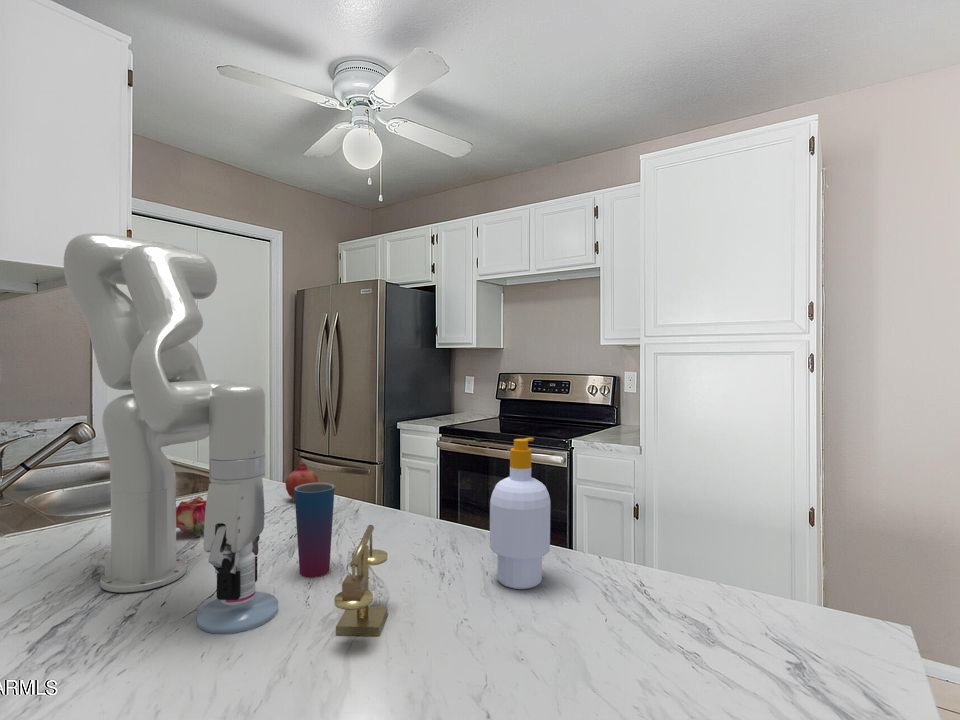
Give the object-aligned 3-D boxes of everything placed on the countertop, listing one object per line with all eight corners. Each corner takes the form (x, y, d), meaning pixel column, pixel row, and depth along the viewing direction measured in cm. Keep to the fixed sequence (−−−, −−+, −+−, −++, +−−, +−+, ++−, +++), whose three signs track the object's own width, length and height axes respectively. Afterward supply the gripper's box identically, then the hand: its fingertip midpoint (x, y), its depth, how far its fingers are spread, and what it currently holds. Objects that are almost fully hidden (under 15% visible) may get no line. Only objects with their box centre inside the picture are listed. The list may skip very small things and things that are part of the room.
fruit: (279, 504, 139) (279, 464, 139) (295, 495, 147) (295, 458, 147) (309, 506, 138) (309, 466, 138) (323, 497, 146) (323, 459, 146)
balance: (325, 652, 72) (325, 554, 72) (355, 600, 87) (355, 518, 87) (371, 654, 72) (371, 555, 72) (393, 601, 87) (393, 519, 87)
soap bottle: (561, 580, 95) (563, 440, 95) (524, 600, 88) (525, 447, 87) (515, 564, 102) (516, 433, 102) (476, 581, 95) (478, 439, 94)
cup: (323, 581, 94) (323, 493, 94) (286, 577, 95) (286, 490, 95) (341, 566, 101) (341, 483, 100) (306, 562, 102) (306, 481, 102)
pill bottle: (262, 595, 84) (262, 539, 83) (236, 608, 79) (236, 550, 79) (239, 588, 86) (239, 534, 85) (212, 601, 81) (212, 544, 81)
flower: (230, 526, 117) (223, 491, 120) (188, 529, 109) (182, 492, 113) (203, 545, 120) (197, 511, 124) (161, 550, 113) (155, 513, 116)
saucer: (181, 632, 77) (180, 625, 77) (220, 597, 88) (220, 590, 88) (259, 634, 77) (259, 627, 77) (289, 598, 88) (289, 592, 88)
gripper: (239, 456, 90) (239, 567, 91) (179, 481, 74) (180, 617, 74) (285, 457, 90) (284, 568, 91) (235, 482, 73) (235, 619, 74)
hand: (237, 589), depth 82 cm, fingers closed on pill bottle, 4 cm apart
